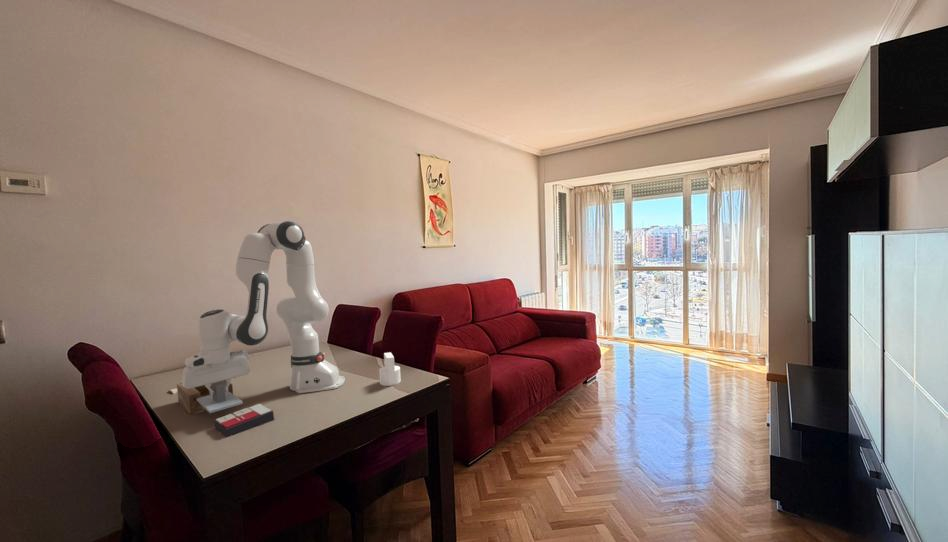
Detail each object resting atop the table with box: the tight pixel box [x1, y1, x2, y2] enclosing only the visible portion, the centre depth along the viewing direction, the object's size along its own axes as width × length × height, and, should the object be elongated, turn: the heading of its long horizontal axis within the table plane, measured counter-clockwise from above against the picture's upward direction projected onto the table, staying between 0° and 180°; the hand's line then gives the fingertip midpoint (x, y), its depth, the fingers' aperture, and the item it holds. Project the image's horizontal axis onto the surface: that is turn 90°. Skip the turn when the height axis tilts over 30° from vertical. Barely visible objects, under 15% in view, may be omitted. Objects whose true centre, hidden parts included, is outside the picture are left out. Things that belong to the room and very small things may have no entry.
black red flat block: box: [213, 403, 275, 438], centre depth 132 cm, size 11×4×15 cm
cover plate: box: [197, 381, 244, 414], centre depth 139 cm, size 10×18×7 cm, turn 48°
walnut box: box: [176, 380, 234, 416], centre depth 153 cm, size 14×20×8 cm
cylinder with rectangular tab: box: [378, 351, 402, 387], centre depth 168 cm, size 9×9×12 cm
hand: (219, 393), depth 139 cm, fingers closed on cover plate, 2 cm apart
